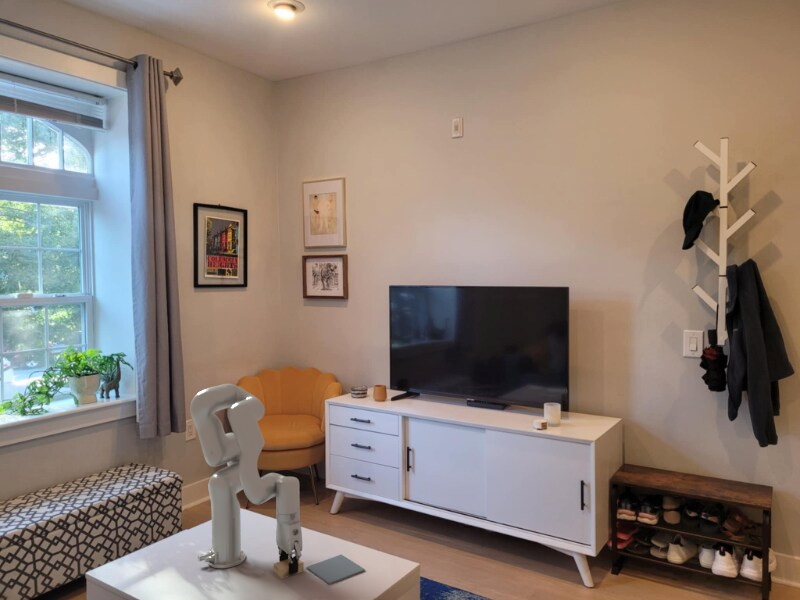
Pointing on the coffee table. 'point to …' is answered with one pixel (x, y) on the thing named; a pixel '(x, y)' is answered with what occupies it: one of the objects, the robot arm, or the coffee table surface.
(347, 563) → the mat
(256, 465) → the robot arm
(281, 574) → the light brown rectangular block
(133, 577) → the coffee table surface
